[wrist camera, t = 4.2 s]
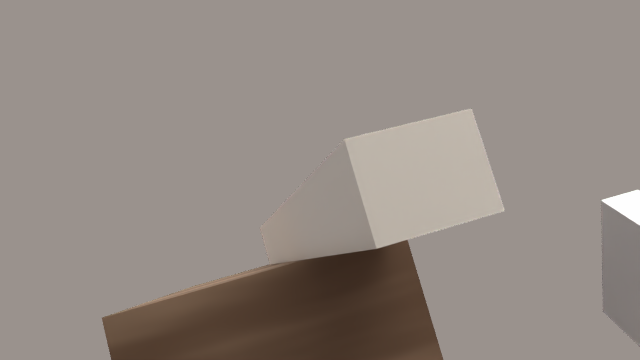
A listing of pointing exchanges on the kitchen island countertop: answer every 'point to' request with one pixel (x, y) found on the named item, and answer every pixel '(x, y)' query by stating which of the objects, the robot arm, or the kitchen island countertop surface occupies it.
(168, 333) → the two tier stand
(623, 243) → the robot arm
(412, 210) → the domino bar
